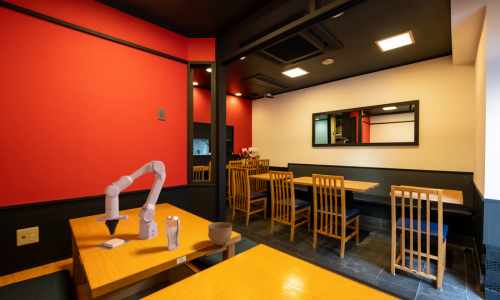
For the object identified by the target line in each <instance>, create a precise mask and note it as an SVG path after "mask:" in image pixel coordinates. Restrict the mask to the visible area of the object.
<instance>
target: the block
mask: <svg viewBox="0 0 500 300" xmlns="http://www.w3.org/2000/svg"><path fill="white" fill-rule="evenodd" d="M114 238H115V239H114ZM114 238H111V239H112V240H111V239H109V240H110V241H109V240H106V241H107V242H106V241H104V246H107V247H111V248H113V249H115V248H117V246H118V247H120V246H122V245H124V240H121V239H117V238H116V237H114ZM121 244H122V245H121ZM119 245H120V246H119ZM114 247H115V248H114Z"/></svg>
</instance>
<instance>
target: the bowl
mask: <svg viewBox="0 0 500 300" xmlns="http://www.w3.org/2000/svg"><path fill="white" fill-rule="evenodd" d="M207 227H208V228H207V229H208V231H207V232H208V233H207V234H208V238H209V240H210V241H211V242H212V243H214V245H216V246H223V245H225V244H226V243H227V242H228V241H229V240H230V239H231V237H232V234H233V233H232V232H233V228H232V227H233V223H229V222H225V221H224V222H223V221H222V222H219V221H217V222H212V223H209V224H208V226H207Z"/></svg>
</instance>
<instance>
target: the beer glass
mask: <svg viewBox="0 0 500 300" xmlns="http://www.w3.org/2000/svg"><path fill="white" fill-rule="evenodd" d="M164 226H165V234H166V235H165V236H166V239H167V240H166V241H167V244H166V250H168V251H174V250H175V251H176V250H178V249H179V248H180V241H179V238H180V233H181V232H180V230H181V221H180V216H179V215H172V216H168V217H166V218H165V225H164Z"/></svg>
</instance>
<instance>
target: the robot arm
mask: <svg viewBox="0 0 500 300" xmlns="http://www.w3.org/2000/svg"><path fill="white" fill-rule="evenodd" d="M146 173H152V174H153V175H154V176H155V178H154V181H153V184H152V187H151V189H150V192H149V194H148V196H147V198H146V201H145V203H144V204H143V205H142V208H140V210H139V211H138V213H137V215H138V217H139V222H138V225H139V231H138V232H139V235H137V236H136V237H135V238H136V239H142V240H145V241H148V240H150V239H153V238H155V237H157V236H159V235H160V234H159V233H158V223H157V222H155V221H154V219H155V212H156V203H157V201H158V198H159V195H160V193H161V190H162V187H163V185H164V183H165V180H166V177H167V174H166V166H165V164H164V163H163V162H162V161H160V160H151V161H150V162H148V163H146V164H144V165H142V166H141V167H139V169H137V170H136V171H134V172H132V174H130V175H122V176H120V178H119V179H118V180H116V181H115V182H112V183H111V184H109V185H108V186H106V187H105V189H104V191H103V192H104V194H105V215H103V216H97V217H95V223H97V222H104V221H105V222H104V224H105V226H106V227H107V229H108V232H109V234H110V235H111V236H113V235H114V234H115V233H116V229H117V226H118V225H119V223H120V222H119V221H121V220H125V221H127V220H128V219H129V215H128V214H119V195H120V192H122V191H124V190H126V189H127V188H128V187H129V186H131V185H132V184H133V181H134V180H136V179H137V178H139V177H141V176H142V175H145V174H146Z"/></svg>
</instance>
